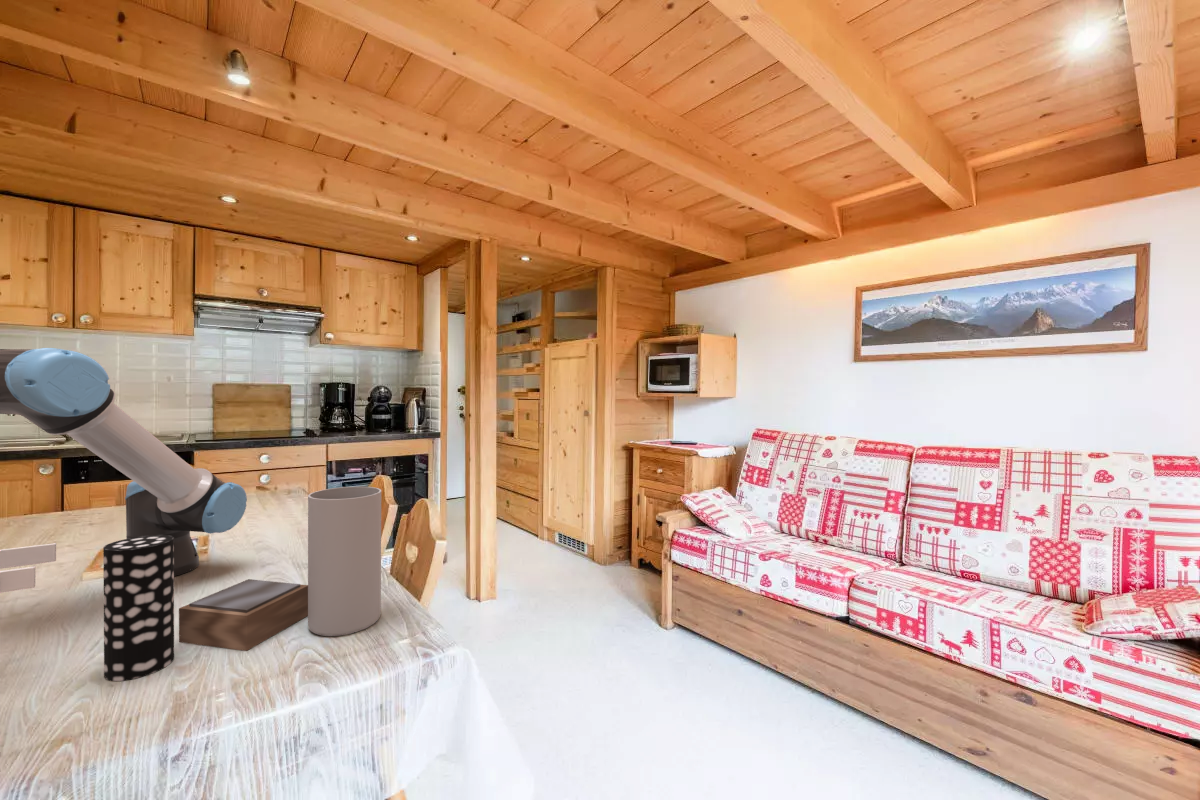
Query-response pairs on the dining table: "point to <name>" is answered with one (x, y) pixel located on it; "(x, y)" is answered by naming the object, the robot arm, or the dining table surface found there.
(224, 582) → the dining table surface
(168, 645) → the spotted tube
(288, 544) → the dining table surface
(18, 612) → the dining table surface
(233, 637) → the display pedestal
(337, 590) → the cylinder vase
